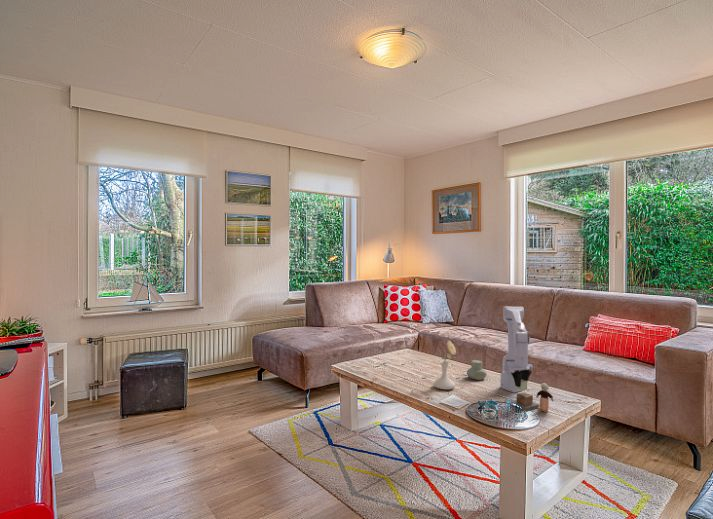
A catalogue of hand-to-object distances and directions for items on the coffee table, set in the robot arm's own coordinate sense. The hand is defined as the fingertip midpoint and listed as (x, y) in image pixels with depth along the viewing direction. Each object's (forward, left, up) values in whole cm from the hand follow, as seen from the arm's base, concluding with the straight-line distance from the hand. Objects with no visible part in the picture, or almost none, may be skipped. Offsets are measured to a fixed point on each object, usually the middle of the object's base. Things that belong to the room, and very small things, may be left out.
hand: (520, 385), depth 190 cm
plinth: (+1, +1, -10) cm, 10 cm away
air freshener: (-40, +14, -10) cm, 44 cm away
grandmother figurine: (+10, +4, -10) cm, 14 cm away
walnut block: (+1, +1, -8) cm, 8 cm away
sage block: (0, 0, -2) cm, 2 cm away
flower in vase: (-37, -13, -10) cm, 40 cm away
